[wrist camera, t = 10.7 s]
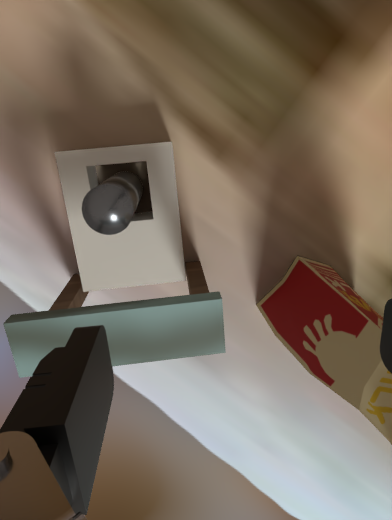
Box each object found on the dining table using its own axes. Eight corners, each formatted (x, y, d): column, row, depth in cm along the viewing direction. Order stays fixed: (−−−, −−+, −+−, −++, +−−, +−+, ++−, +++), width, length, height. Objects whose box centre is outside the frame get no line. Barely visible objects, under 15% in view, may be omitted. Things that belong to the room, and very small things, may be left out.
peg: (111, 206, 35) (86, 237, 24) (106, 172, 34) (77, 187, 23) (145, 203, 35) (136, 232, 24) (140, 169, 34) (128, 182, 23)
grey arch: (67, 252, 36) (3, 323, 22) (199, 238, 37) (221, 298, 23) (74, 288, 38) (19, 377, 23) (202, 274, 38) (225, 352, 24)
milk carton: (310, 345, 43) (425, 506, 24) (253, 307, 40) (331, 452, 21) (361, 288, 41) (531, 414, 22) (305, 245, 38) (440, 344, 20)
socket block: (67, 150, 33) (54, 151, 29) (171, 141, 34) (172, 141, 30) (91, 276, 37) (83, 291, 34) (183, 266, 38) (186, 280, 34)
